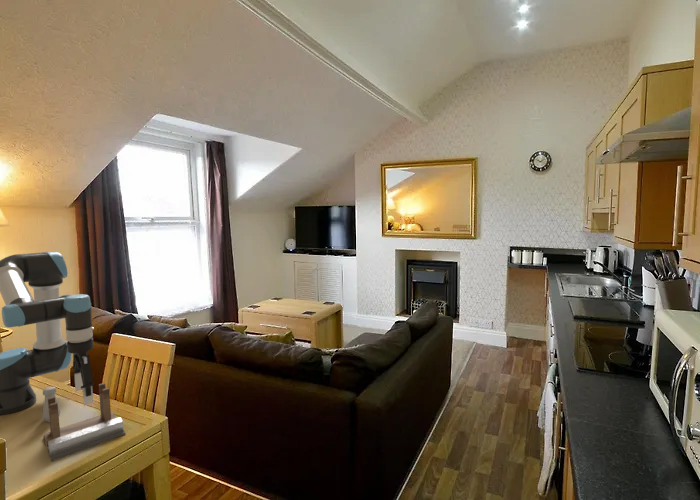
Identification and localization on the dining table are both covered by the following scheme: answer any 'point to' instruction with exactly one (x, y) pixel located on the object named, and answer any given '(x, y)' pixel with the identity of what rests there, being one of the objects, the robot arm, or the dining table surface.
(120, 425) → the metal rail
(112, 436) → the rubber mat
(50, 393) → the salt shaker
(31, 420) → the dining table surface
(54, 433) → the bracket stand
